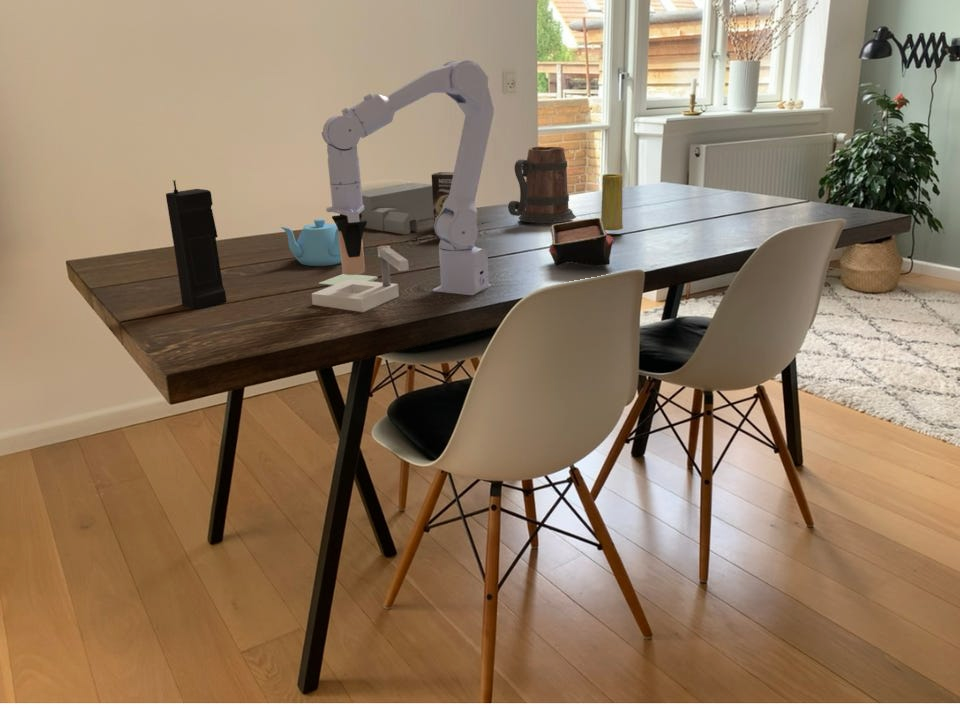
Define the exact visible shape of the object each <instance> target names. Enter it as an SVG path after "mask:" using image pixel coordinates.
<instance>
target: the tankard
mask: <svg viewBox="0 0 960 708" xmlns="http://www.w3.org/2000/svg"><path fill="white" fill-rule="evenodd" d="M567 170H568V160H567V158H566V154H565V148H564V147H561V146H534V147H529V148H528V152H527V158H526V159H518V160H516V161H515V164H514V173H515V177H516V179H517V181H518V185H519V192H520V197H519V201H517V200H511V201H509V202H508V205H507V208H508V213H509V214H510V215H512V216H517V217H518V220H519V221H522V222H526V223H528V222H529V223H537V224H538V223H540V224H543V223H546V224H547V223H550V224H551V223H560V222H561V223H563V222H569V221H573V220H574V219H576V215H575V214H574V213H573V210H572V209H571V208H569V201H570V194H569V191H568V174H567V173H568V171H567ZM525 178H526V179H525Z"/></svg>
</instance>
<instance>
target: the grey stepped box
mask: <svg viewBox="0 0 960 708" xmlns="http://www.w3.org/2000/svg"><path fill="white" fill-rule="evenodd" d="M362 200H363V205H364V210H363V211H362V212H361V214H362V217H361V219H360V220H365V219H366V220H367V224H366V226H365V229H369V230H374V231H375V230H376V231H379V232H380V231H381V232H388V233H393V234H399V235H400V234H401V235H409V234H411V232H415V233H418V232H419V222H420V221H426V220H429V219H434V215H433V194H432V183H429V184H428V183H419V182H407V183H402V184H395V185H390V186H383V187H378V188H372V189H366V190H362ZM419 238H420V237H414V238H411V239H407V240H406V242H407V241H411V240H416V239H419Z"/></svg>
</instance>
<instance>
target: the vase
mask: <svg viewBox="0 0 960 708" xmlns="http://www.w3.org/2000/svg"><path fill="white" fill-rule="evenodd" d="M601 181H602V183H601V187H602V188H601V191H602V192H601V194H602V195H601V214H600V216H601V217H600V218H601V219H602V222H603V225H604V229H605V231H620V230H623V229H624V226H623V225H624V224H623V174H621V173H604V174H602V180H601Z"/></svg>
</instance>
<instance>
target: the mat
mask: <svg viewBox="0 0 960 708" xmlns="http://www.w3.org/2000/svg"><path fill="white" fill-rule="evenodd" d="M348 279H353V280H363V281H372V282H375V281H376V280H378V279H379V276H375V275H374V276H373V275H366V274H364V275H363V274H356V275H345V274H343V273H341V274H339V275H336V276H334V277H331V278H328V279H325V280H324V281H323V280H322V281H320V282H318V285H323V286H329V287H330V286H333V285H335V284H338V283H341V282H343V281H346V280H348Z"/></svg>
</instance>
